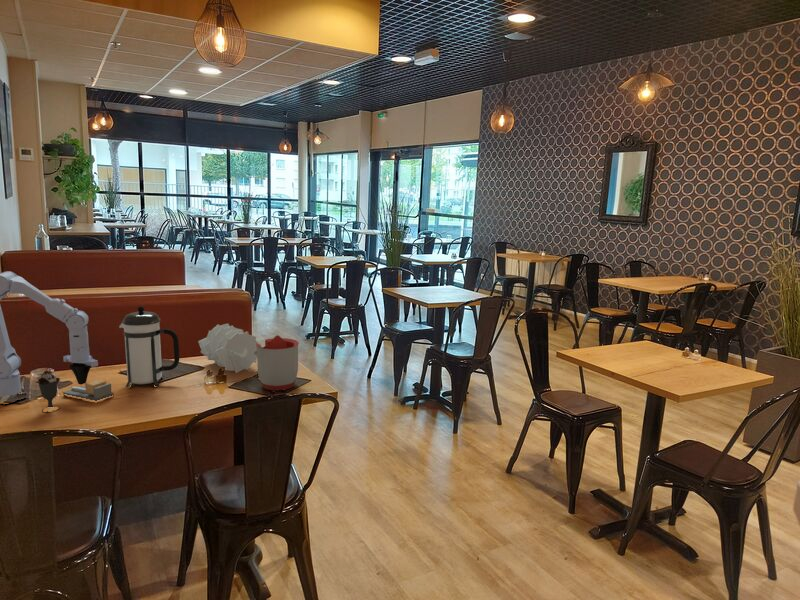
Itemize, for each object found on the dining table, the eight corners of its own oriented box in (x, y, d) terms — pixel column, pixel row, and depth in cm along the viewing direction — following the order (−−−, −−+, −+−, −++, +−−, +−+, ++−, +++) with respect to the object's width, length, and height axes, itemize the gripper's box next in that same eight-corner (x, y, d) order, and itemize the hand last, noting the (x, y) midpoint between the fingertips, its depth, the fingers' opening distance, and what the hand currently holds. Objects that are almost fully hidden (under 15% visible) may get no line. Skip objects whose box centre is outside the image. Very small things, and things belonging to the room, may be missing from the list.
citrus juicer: (267, 377, 223) (266, 328, 220) (306, 382, 218) (306, 332, 214) (244, 389, 209) (243, 337, 205) (285, 395, 203) (284, 342, 199)
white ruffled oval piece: (227, 367, 248) (254, 379, 229) (190, 357, 236) (215, 368, 217) (242, 328, 250) (270, 336, 232) (206, 316, 239) (232, 323, 220)
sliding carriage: (86, 394, 194) (85, 383, 194) (98, 390, 199) (97, 379, 198) (94, 396, 193) (93, 385, 192) (106, 392, 197) (106, 381, 197)
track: (63, 396, 197) (62, 382, 196) (81, 390, 204) (80, 377, 203) (96, 403, 191) (95, 389, 191) (113, 396, 198) (112, 383, 197)
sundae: (57, 404, 189) (53, 361, 187) (65, 409, 185) (61, 366, 183) (35, 409, 184) (31, 366, 182) (43, 415, 180) (39, 370, 178)
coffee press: (137, 393, 202) (132, 312, 196) (116, 384, 211) (110, 306, 206) (181, 382, 215) (178, 305, 210) (159, 373, 225) (155, 300, 219)
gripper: (104, 346, 196) (107, 383, 199) (75, 341, 202) (77, 377, 204) (86, 350, 190) (89, 389, 192) (56, 345, 195) (59, 383, 198)
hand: (82, 383), depth 198 cm, fingers closed
